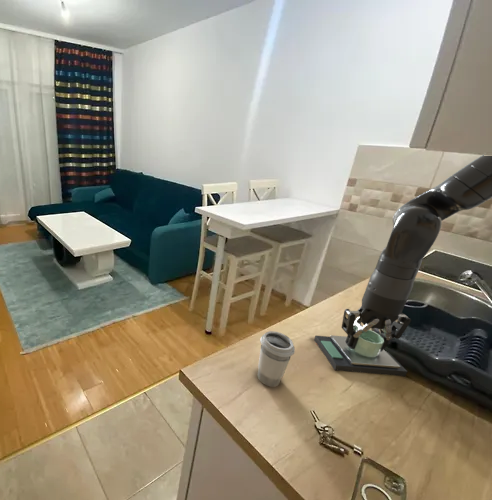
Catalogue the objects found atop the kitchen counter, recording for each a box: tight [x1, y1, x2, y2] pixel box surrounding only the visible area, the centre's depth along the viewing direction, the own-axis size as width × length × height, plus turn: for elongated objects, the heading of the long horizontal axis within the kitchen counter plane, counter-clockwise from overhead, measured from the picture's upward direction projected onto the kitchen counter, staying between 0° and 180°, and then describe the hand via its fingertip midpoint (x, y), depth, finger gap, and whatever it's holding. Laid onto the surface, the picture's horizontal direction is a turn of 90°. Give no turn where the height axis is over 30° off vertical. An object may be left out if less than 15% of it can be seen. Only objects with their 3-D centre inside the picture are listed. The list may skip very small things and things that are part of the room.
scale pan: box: [329, 334, 400, 368], centre depth 73 cm, size 11×10×1 cm
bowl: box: [353, 328, 384, 357], centre depth 72 cm, size 6×6×4 cm
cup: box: [257, 330, 296, 388], centre depth 65 cm, size 7×7×12 cm
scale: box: [313, 335, 408, 377], centre depth 74 cm, size 16×11×3 cm
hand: (363, 347), depth 73 cm, fingers closed on bowl, 6 cm apart
